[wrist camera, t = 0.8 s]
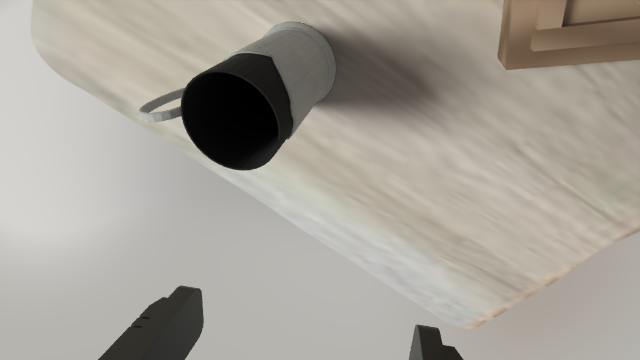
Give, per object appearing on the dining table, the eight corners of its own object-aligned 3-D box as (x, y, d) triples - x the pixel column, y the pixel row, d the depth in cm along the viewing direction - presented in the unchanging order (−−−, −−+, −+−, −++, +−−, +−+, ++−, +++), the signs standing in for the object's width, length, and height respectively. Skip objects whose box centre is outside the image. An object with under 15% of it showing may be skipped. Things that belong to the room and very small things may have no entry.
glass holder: (339, 106, 37) (297, 180, 25) (223, 108, 41) (137, 172, 29) (332, 18, 32) (277, 56, 20) (202, 29, 36) (89, 66, 24)
